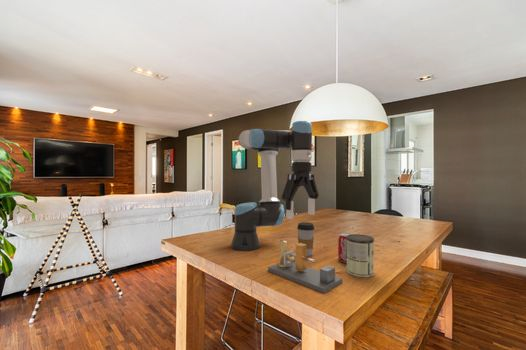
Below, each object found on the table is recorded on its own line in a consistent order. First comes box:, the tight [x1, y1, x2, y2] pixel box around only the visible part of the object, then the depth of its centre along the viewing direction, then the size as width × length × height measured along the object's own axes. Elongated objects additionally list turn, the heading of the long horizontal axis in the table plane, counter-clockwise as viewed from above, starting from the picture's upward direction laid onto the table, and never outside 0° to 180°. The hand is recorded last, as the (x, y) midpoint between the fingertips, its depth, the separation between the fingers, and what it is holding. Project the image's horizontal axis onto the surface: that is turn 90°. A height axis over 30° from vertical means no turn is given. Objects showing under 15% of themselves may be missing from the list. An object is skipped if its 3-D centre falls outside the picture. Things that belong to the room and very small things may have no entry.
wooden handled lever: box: [284, 243, 316, 272], centre depth 97 cm, size 13×5×10 cm, turn 44°
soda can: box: [337, 232, 352, 264], centre depth 113 cm, size 7×7×12 cm
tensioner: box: [319, 265, 336, 284], centre depth 88 cm, size 3×5×4 cm, turn 134°
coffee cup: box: [297, 222, 315, 258], centre depth 122 cm, size 8×8×15 cm
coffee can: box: [346, 233, 375, 278], centre depth 100 cm, size 10×10×14 cm
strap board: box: [267, 260, 343, 294], centre depth 96 cm, size 26×12×2 cm, turn 44°
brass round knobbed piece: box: [277, 239, 295, 268], centre depth 102 cm, size 8×5×10 cm, turn 44°
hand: (301, 216), depth 97 cm, fingers open, 13 cm apart
